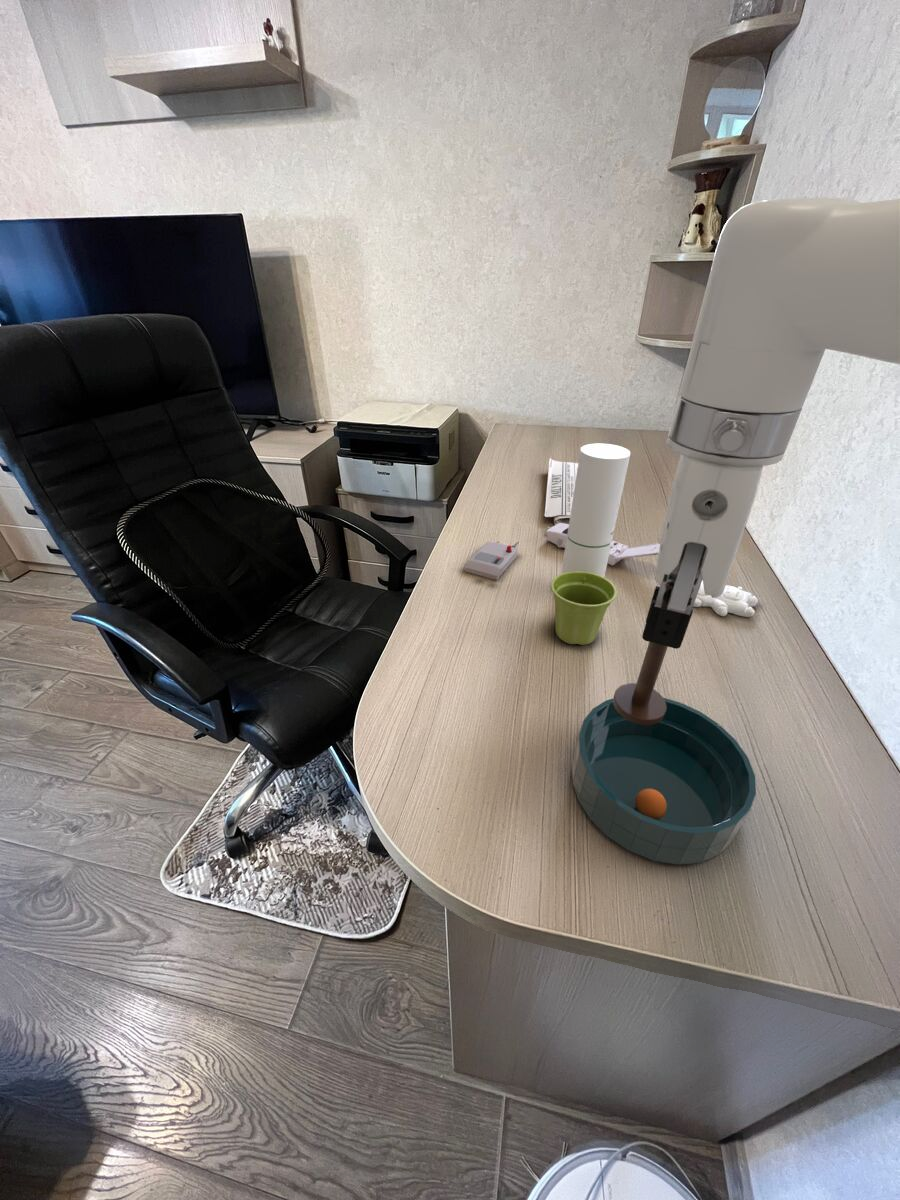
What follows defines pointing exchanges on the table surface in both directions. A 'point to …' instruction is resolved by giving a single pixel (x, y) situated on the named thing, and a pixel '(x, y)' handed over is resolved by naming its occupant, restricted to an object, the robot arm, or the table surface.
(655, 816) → the ball
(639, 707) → the stirring stick
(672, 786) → the bowl
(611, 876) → the table surface
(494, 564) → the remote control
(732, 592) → the white toy figurine
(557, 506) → the newspaper
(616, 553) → the mobile phone
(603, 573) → the cylindrical container
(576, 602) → the plant pot
